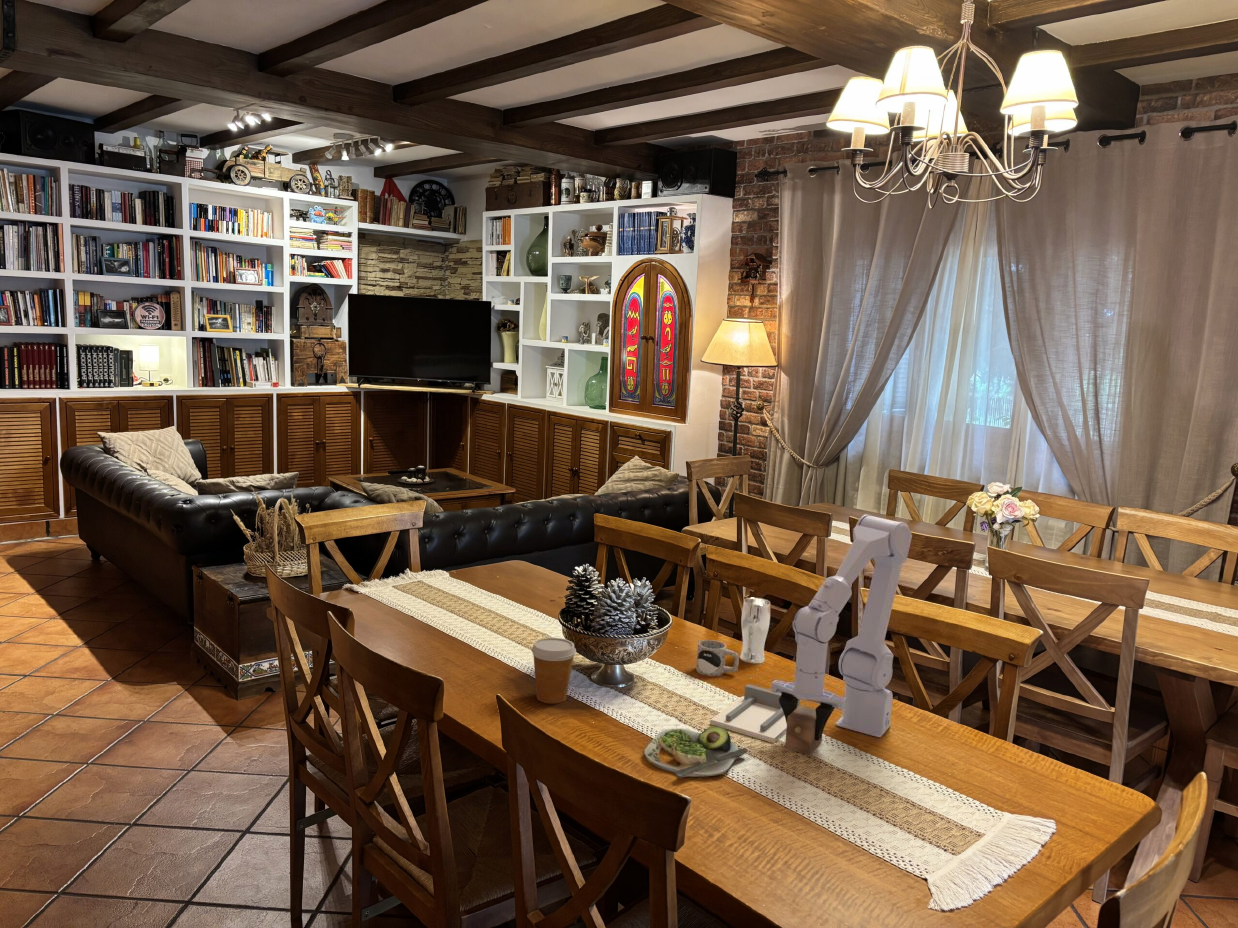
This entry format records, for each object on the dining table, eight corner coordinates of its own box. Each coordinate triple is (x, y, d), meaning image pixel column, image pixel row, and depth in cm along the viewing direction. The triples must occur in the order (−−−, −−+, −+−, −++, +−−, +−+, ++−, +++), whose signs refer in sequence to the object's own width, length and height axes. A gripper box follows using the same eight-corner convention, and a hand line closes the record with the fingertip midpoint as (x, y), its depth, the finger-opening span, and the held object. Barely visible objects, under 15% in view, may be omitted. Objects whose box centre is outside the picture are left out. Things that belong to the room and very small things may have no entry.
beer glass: (734, 660, 226) (738, 601, 224) (743, 652, 232) (748, 595, 230) (761, 666, 223) (766, 607, 220) (770, 658, 229) (775, 600, 227)
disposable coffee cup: (522, 692, 198) (525, 639, 196) (562, 687, 202) (565, 635, 200) (539, 709, 189) (542, 653, 188) (580, 703, 194) (583, 649, 192)
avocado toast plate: (721, 796, 158) (723, 771, 158) (627, 771, 165) (628, 747, 165) (752, 753, 176) (754, 730, 175) (666, 731, 183) (667, 710, 182)
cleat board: (802, 717, 193) (804, 699, 193) (773, 743, 180) (775, 723, 179) (742, 700, 201) (743, 682, 200) (710, 723, 187) (711, 705, 186)
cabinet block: (821, 742, 181) (824, 711, 181) (807, 756, 175) (810, 724, 174) (797, 735, 184) (800, 704, 183) (783, 749, 177) (786, 717, 176)
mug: (693, 673, 215) (695, 646, 214) (699, 664, 222) (701, 638, 221) (734, 680, 212) (736, 653, 211) (740, 671, 218) (742, 644, 218)
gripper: (767, 665, 178) (762, 731, 180) (839, 683, 170) (833, 752, 172) (781, 655, 184) (775, 719, 186) (851, 673, 176) (845, 739, 178)
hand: (804, 734), depth 179 cm, fingers closed on cabinet block, 5 cm apart
